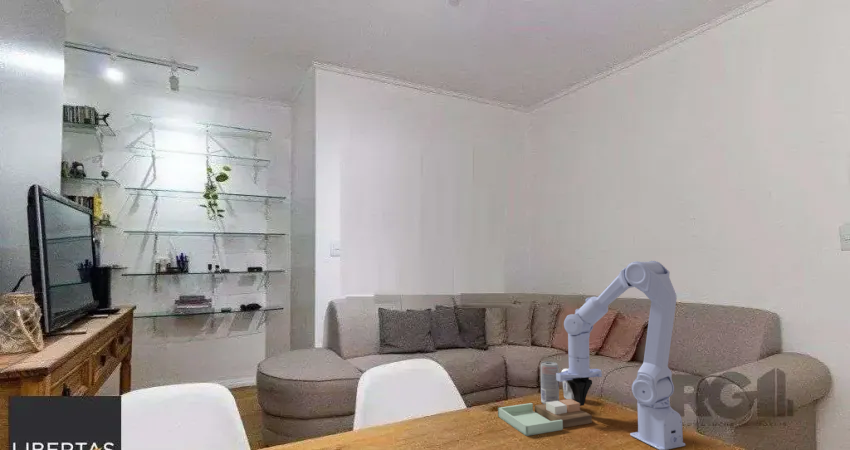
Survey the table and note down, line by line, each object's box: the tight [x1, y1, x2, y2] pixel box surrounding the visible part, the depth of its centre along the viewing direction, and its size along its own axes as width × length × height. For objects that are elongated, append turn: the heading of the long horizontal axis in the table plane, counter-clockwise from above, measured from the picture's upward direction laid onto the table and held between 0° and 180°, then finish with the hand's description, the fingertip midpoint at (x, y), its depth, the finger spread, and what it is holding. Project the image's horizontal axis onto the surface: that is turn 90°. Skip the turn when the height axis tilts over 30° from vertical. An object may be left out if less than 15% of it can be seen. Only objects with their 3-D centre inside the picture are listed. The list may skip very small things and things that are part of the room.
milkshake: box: [560, 367, 575, 400], centre depth 140 cm, size 4×5×10 cm
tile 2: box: [559, 398, 581, 412], centre depth 124 cm, size 4×4×2 cm
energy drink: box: [540, 360, 560, 404], centre depth 135 cm, size 5×5×12 cm
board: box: [534, 403, 593, 429], centre depth 123 cm, size 12×10×2 cm
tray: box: [497, 402, 564, 437], centre depth 119 cm, size 14×11×2 cm
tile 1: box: [546, 401, 567, 414], centre depth 122 cm, size 4×4×2 cm
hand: (579, 404), depth 125 cm, fingers closed
